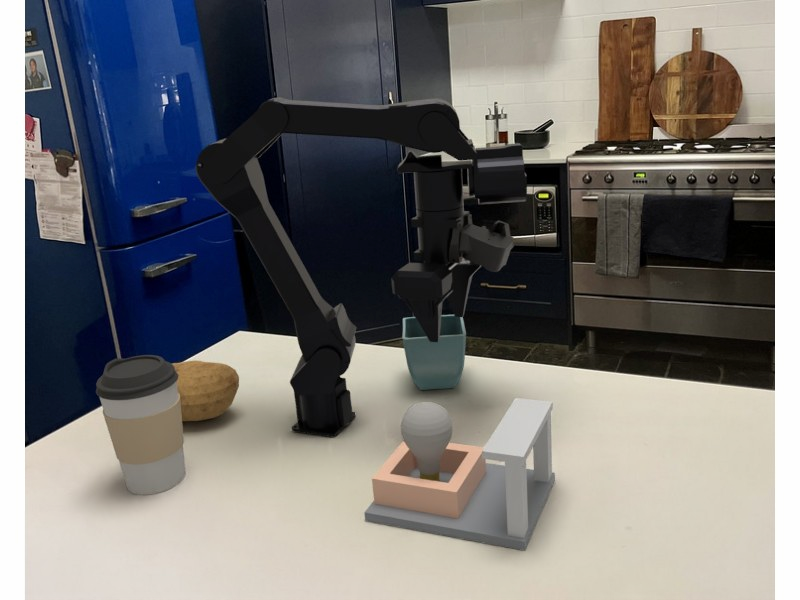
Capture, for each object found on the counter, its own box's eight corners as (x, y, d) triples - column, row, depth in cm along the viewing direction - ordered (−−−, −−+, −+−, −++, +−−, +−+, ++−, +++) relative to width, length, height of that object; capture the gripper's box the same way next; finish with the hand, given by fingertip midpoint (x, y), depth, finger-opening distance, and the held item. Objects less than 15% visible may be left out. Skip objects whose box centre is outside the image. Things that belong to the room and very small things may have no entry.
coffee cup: (209, 463, 94) (190, 350, 90) (165, 504, 86) (142, 381, 82) (148, 456, 97) (126, 346, 93) (100, 495, 89) (73, 376, 85)
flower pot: (469, 393, 108) (466, 333, 105) (407, 398, 108) (402, 338, 105) (465, 369, 116) (462, 313, 113) (407, 373, 116) (402, 317, 114)
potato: (167, 401, 113) (157, 350, 111) (255, 404, 110) (247, 352, 108) (130, 432, 104) (119, 378, 102) (225, 436, 101) (216, 381, 99)
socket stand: (365, 520, 80) (356, 436, 77) (412, 459, 92) (406, 384, 89) (525, 550, 74) (522, 459, 71) (555, 480, 85) (553, 399, 82)
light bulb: (452, 503, 80) (447, 416, 77) (401, 501, 81) (394, 415, 78) (458, 476, 85) (454, 393, 82) (410, 474, 86) (404, 392, 83)
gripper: (480, 225, 81) (486, 362, 86) (525, 192, 97) (528, 309, 102) (384, 223, 86) (395, 354, 90) (442, 192, 102) (449, 304, 107)
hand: (447, 328), depth 97 cm, fingers open, 9 cm apart
